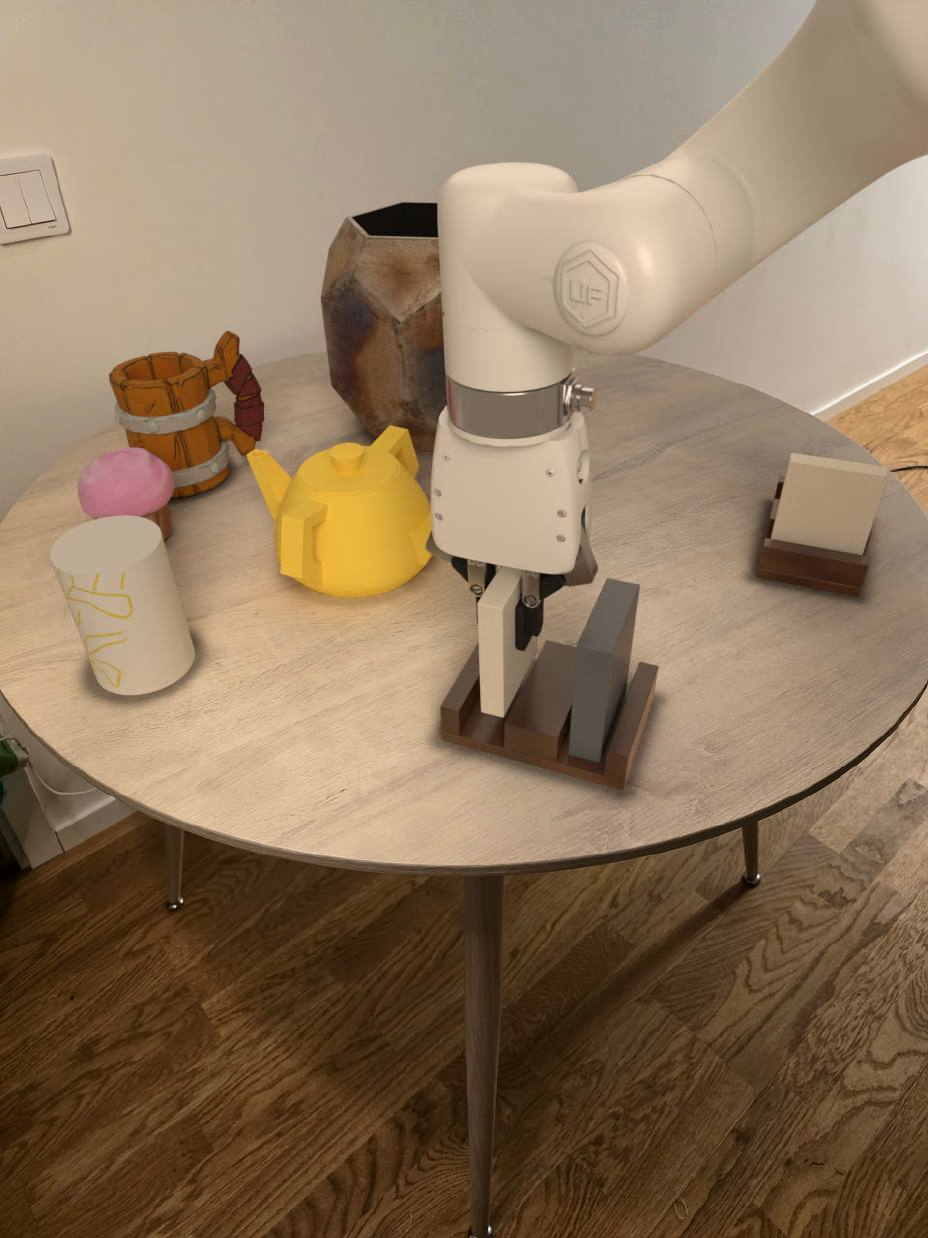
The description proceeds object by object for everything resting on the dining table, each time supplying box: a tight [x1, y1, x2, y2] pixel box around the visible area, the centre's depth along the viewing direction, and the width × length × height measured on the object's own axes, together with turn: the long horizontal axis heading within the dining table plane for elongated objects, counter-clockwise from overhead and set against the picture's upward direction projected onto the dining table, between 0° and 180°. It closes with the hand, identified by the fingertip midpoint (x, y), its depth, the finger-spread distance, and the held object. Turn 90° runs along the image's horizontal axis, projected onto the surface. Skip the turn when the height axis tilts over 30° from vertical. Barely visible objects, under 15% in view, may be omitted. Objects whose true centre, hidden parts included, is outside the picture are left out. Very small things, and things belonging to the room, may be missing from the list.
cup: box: [49, 515, 196, 696], centre depth 69 cm, size 8×8×12 cm
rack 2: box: [756, 474, 872, 598], centre depth 83 cm, size 9×14×4 cm, turn 158°
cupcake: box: [77, 447, 175, 541], centre depth 84 cm, size 9×9×10 cm
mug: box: [108, 330, 265, 499], centre depth 95 cm, size 11×16×15 cm, turn 120°
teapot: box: [246, 425, 434, 599], centre depth 81 cm, size 17×17×12 cm
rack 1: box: [439, 640, 659, 791], centre depth 66 cm, size 14×10×4 cm
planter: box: [320, 200, 447, 452], centre depth 100 cm, size 22×24×24 cm
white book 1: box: [477, 565, 539, 717], centre depth 63 cm, size 2×8×10 cm, turn 158°
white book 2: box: [771, 452, 889, 555], centre depth 78 cm, size 8×2×10 cm, turn 68°
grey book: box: [568, 577, 641, 763], centre depth 62 cm, size 2×8×10 cm, turn 158°
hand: (510, 634), depth 63 cm, fingers closed on white book 1, 1 cm apart
